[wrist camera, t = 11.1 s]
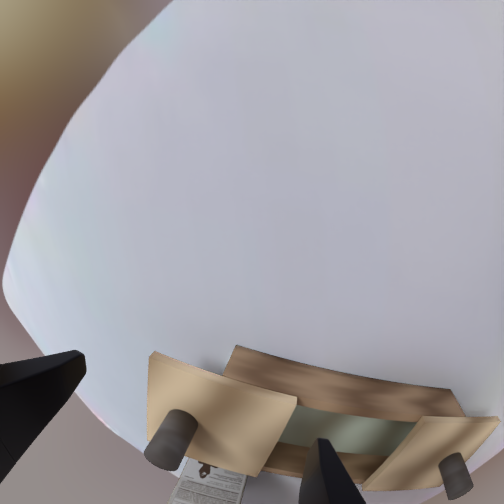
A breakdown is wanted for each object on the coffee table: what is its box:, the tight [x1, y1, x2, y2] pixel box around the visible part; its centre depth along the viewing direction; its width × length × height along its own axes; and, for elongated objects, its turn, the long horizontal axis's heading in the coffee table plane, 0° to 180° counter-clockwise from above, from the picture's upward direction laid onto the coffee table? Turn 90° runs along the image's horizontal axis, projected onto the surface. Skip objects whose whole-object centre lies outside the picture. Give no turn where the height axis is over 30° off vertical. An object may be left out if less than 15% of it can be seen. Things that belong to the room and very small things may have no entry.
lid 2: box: [362, 416, 501, 500], centre depth 14 cm, size 10×10×5 cm
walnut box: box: [222, 345, 466, 484], centre depth 19 cm, size 20×10×4 cm, turn 76°
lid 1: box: [144, 351, 297, 477], centre depth 16 cm, size 10×10×5 cm
